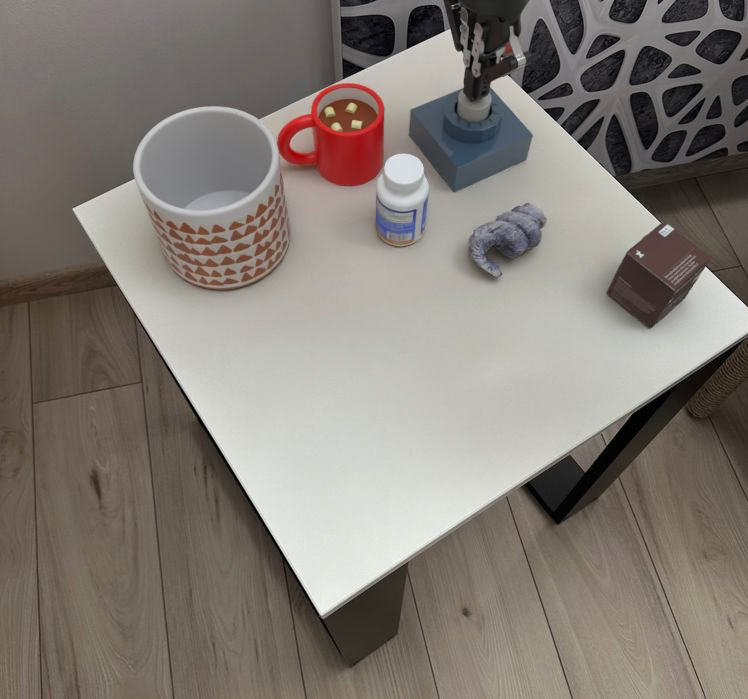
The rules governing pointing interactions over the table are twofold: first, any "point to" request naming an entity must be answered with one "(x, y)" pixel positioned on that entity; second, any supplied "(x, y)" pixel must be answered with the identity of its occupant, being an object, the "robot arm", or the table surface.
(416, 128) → the button housing
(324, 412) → the table surface
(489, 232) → the seashell
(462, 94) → the grey short cylinder
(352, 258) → the table surface
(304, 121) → the mug
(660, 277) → the box
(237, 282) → the planter
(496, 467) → the table surface
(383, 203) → the pill bottle
